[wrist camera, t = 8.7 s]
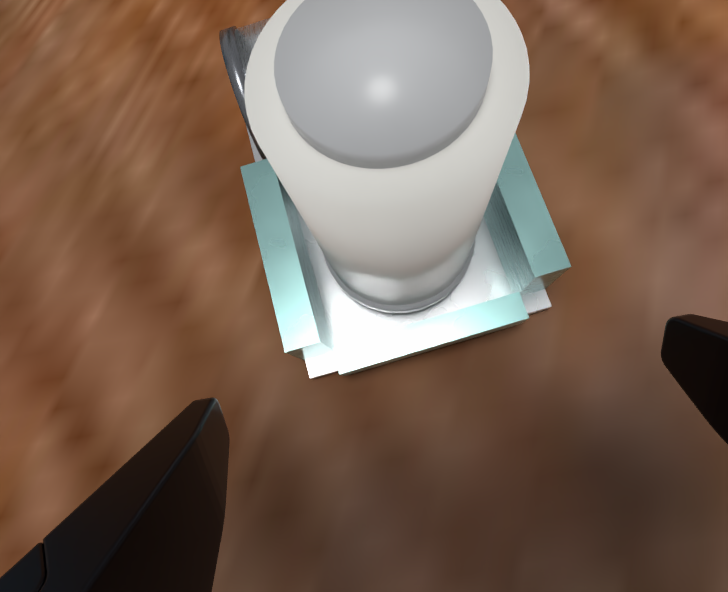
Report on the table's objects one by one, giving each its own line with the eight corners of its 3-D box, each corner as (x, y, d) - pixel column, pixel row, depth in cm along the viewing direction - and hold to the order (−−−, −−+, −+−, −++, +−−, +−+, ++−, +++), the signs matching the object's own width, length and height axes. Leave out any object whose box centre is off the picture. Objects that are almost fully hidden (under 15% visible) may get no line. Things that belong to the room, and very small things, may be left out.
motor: (550, 316, 18) (611, 277, 12) (314, 386, 18) (273, 378, 13) (441, 42, 21) (452, -84, 16) (243, 105, 22) (186, 2, 16)
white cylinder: (500, 269, 18) (614, 95, 8) (370, 343, 18) (315, 264, 8) (423, 154, 19) (435, -119, 9) (303, 222, 19) (179, 21, 9)
